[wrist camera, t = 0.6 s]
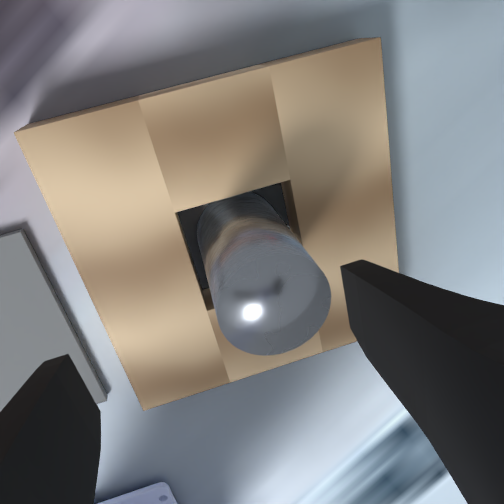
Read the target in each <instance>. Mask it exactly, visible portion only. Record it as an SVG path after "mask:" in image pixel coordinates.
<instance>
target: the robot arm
mask: <svg viewBox="0 0 504 504" xmlns="http://www.w3.org/2000/svg"><path fill="white" fill-rule="evenodd" d="M340 269H341V276H342V282H343V288H344V294H345V300H346V306H347V312H348V318H349V324H350V329H351V330H352V332H353V334H354V336H355V338H356V339H357V341H358V343H359V345H360V346H361V348H362V350H363V352H364V353H365V355H366V357H367V358H368V360H369V361H370V362H371V364H372V365H373V366H374V368H375V369H376V370H377V372H378V373H379V374H380V376H381V377H382V378H383V380H384V381H385V382H386V383H387V385H388V386H389V387H390V389H391V390H392V391H393V393H394V394H395V395H396V396H397V398H398V399H399V400H400V402H401V403H402V404H403V406H404V407H405V408H406V409H407V411H408V412H409V413H410V415H411V416H412V417H413V419H414V420H415V421H416V422H417V424H418V425H419V427H420V428H421V429H422V431H423V432H424V434H425V435H426V437H427V438H428V439H429V441H430V443H431V444H432V446H433V447H434V449H435V451H436V452H437V454H438V455H439V457H440V459H441V460H442V462H443V463H444V465H445V467H446V468H447V470H448V472H449V473H450V475H451V476H452V478H453V480H454V481H455V483H456V485H457V486H458V488H459V490H460V492H461V493H462V495H463V497H464V498H465V500H466V502H467V503H468V504H504V305H500V304H496V303H491V302H487V301H483V300H479V299H475V298H471V297H468V296H464V295H461V294H458V293H455V292H451V291H448V290H445V289H442V288H439V287H436V286H433V285H430V284H427V283H424V282H421V281H419V280H416V279H413V278H411V277H408V276H405V275H403V274H400V273H398V272H395V271H393V270H390V269H387V268H385V267H382V266H380V265H377V264H374V263H372V262H369V261H366V260H363V259H361V260H357V261H354V262H351V263H348V264H345V265H342V266H340ZM100 451H101V414H100V410H99V408H98V406H97V405H96V403H95V401H94V399H93V397H92V395H91V394H90V392H89V390H88V388H87V386H86V385H85V383H84V381H83V379H82V377H81V375H80V374H79V372H78V370H77V368H76V366H75V365H74V363H73V361H72V359H71V357H70V356H69V354H65V355H62V356H59V357H56V358H53V359H50V360H47V361H44V362H43V363H42V364H41V365H40V366H39V367H38V368H37V369H36V370H35V371H34V373H33V374H32V375H31V376H30V377H29V378H28V380H27V381H26V382H25V383H24V384H23V385H22V387H21V388H20V389H19V390H18V391H17V393H16V394H15V395H14V396H13V397H12V399H11V400H10V401H9V402H8V403H7V405H6V406H5V407H4V408H3V409H2V411H1V412H0V504H93V503H94V496H95V489H96V482H97V474H98V467H99V459H100ZM97 504H177V502H176V500H175V498H174V496H173V494H172V492H171V490H170V487H169V485H168V484H167V483H164V482H159V483H156V484H153V485H150V486H147V487H144V488H141V489H138V490H135V491H132V492H129V493H127V494H124V495H121V496H118V497H115V498H112V499H109V500H106V501H103V502H100V503H97Z"/></svg>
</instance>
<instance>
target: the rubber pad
mask: <svg viewBox="0 0 504 504" xmlns="http://www.w3.org/2000/svg"><path fill="white" fill-rule="evenodd" d="M65 354H69V356H70V357H71V359H72V361H73V363H74V365H75V366H76V368H77V370H78V372H79V374H80V375H81V377H82V379H83V381H84V383H85V385H86V386H87V388H88V390H89V392H90V394H91V395H92V397H93V399H94V401H95V403H96V404H98V403H102V402H105V401H107V394H106V392H105V390H104V388H103V386H102V384H101V382H100V380H99V378H98V376H97V374H96V372H95V370H94V368H93V366H92V364H91V362H90V360H89V358H88V356H87V354H86V352H85V350H84V348H83V346H82V344H81V342H80V340H79V338H78V336H77V335H76V333H75V331H74V329H73V327H72V325H71V323H70V321H69V319H68V317H67V315H66V313H65V311H64V309H63V307H62V305H61V303H60V301H59V299H58V297H57V295H56V293H55V291H54V289H53V287H52V285H51V283H50V281H49V279H48V277H47V275H46V274H45V272H44V270H43V268H42V266H41V264H40V262H39V260H38V258H37V256H36V254H35V252H34V250H33V248H32V246H31V244H30V242H29V240H28V238H27V236H26V234H25V232H24V230H23V229H20V230H17V231H13V232H9V233H6V234H2V235H0V412H1V411H2V409H3V408H4V407H5V406H6V405H7V403H8V402H9V401H10V400H11V399H12V397H13V396H14V395H15V394H16V393H17V391H18V390H19V389H20V388H21V387H22V385H23V384H24V383H25V382H26V381H27V380H28V378H29V377H30V376H31V375H32V374H33V373H34V371H35V370H36V369H37V368H38V367H39V366H40V365H41V364H42V363H43V362H44V361H47V360H50V359H53V358H56V357H59V356H62V355H65Z"/></svg>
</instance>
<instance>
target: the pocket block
mask: <svg viewBox="0 0 504 504" xmlns="http://www.w3.org/2000/svg"><path fill="white" fill-rule="evenodd" d="M14 134H15V137H16V139H17V141H18V143H19V145H20V147H21V149H22V152H23V154H24V156H25V158H26V160H27V162H28V164H29V167H30V169H31V171H32V173H33V175H34V177H35V179H36V182H37V184H38V186H39V188H40V190H41V192H42V194H43V197H44V199H45V201H46V203H47V205H48V207H49V209H50V212H51V214H52V216H53V218H54V220H55V222H56V224H57V227H58V229H59V231H60V233H61V235H62V237H63V239H64V242H65V244H66V246H67V248H68V250H69V252H70V254H71V257H72V259H73V261H74V263H75V265H76V267H77V269H78V272H79V274H80V276H81V278H82V280H83V282H84V284H85V287H86V289H87V291H88V293H89V295H90V297H91V299H92V302H93V304H94V306H95V308H96V310H97V312H98V314H99V317H100V319H101V321H102V323H103V325H104V327H105V329H106V332H107V334H108V336H109V338H110V340H111V342H112V344H113V347H114V349H115V351H116V353H117V355H118V357H119V359H120V362H121V364H122V366H123V368H124V370H125V372H126V374H127V376H128V379H129V381H130V383H131V385H132V387H133V389H134V391H135V394H136V396H137V398H138V400H139V402H140V404H141V406H142V409H143V411H145V410H148V409H151V408H154V407H157V406H160V405H163V404H166V403H169V402H172V401H176V400H179V399H182V398H185V397H188V396H191V395H194V394H197V393H200V392H203V391H206V390H209V389H212V388H215V387H218V386H221V385H224V384H228V383H231V382H234V381H237V380H240V379H243V378H246V377H249V376H252V375H255V374H258V373H261V372H264V371H267V370H270V369H273V368H276V367H280V366H283V365H286V364H289V363H292V362H295V361H298V360H301V359H304V358H307V357H310V356H313V355H316V354H319V353H322V352H325V351H328V350H332V349H335V348H338V347H341V346H344V345H347V344H350V343H353V342H356V341H357V339H356V338H355V336H354V334H353V332H352V330H351V329H350V324H349V318H348V312H347V306H346V300H345V294H344V288H343V282H342V276H341V269H340V266H342V265H345V264H348V263H351V262H354V261H357V260H361V259H363V260H366V261H369V262H372V263H374V264H377V265H380V266H382V267H385V268H387V269H390V270H393V271H395V272H398V273H399V268H398V255H397V242H396V229H395V216H394V203H393V190H392V177H391V164H390V151H389V138H388V125H387V112H386V99H385V86H384V73H383V61H382V48H381V37H376V38H359V39H355V40H351V41H347V42H343V43H339V44H336V45H332V46H328V47H324V48H320V49H316V50H312V51H308V52H305V53H301V54H297V55H293V56H289V57H285V58H281V59H278V60H274V61H270V62H266V63H262V64H258V65H254V66H251V67H247V68H243V69H239V70H235V71H231V72H227V73H223V74H220V75H216V76H212V77H208V78H204V79H200V80H196V81H193V82H189V83H185V84H181V85H177V86H173V87H169V88H165V89H162V90H158V91H154V92H150V93H146V94H142V95H138V96H135V97H131V98H127V99H123V100H119V101H115V102H111V103H108V104H104V105H100V106H96V107H92V108H88V109H84V110H80V111H77V112H73V113H69V114H65V115H61V116H57V117H53V118H50V119H46V120H42V121H38V122H34V123H30V124H27V125H25V126H24V127H22V128H20V129H19V130H17V131H16V132H14ZM280 182H281V186H282V191H283V196H284V201H285V206H286V211H287V216H288V221H289V226H290V230H291V232H292V233H293V234H294V236H295V237H296V238H297V239H298V241H299V242H300V243H301V245H302V246H303V247H304V248H305V250H306V251H307V252H308V253H309V255H310V256H311V257H312V259H313V260H314V261H315V262H316V264H317V265H318V266H319V268H320V269H321V270H322V271H323V273H324V274H325V276H326V278H327V280H328V282H329V285H330V289H331V305H330V310H329V313H328V316H327V318H326V320H325V322H324V323H323V325H322V326H321V328H320V329H319V330H318V332H317V333H316V334H315V335H314V336H313V337H312V338H311V339H309V340H308V341H307V342H306V343H304V344H303V345H301V346H299V347H297V348H295V349H293V350H291V351H288V352H286V353H282V354H277V355H269V356H262V355H254V354H250V353H247V352H244V351H242V350H240V349H238V348H236V347H235V346H233V345H232V344H231V343H230V342H229V341H228V340H227V339H226V338H225V336H224V335H223V333H222V331H221V329H220V327H219V324H218V320H217V316H216V312H215V308H214V304H213V300H212V296H211V292H210V288H207V289H204V290H202V288H201V285H200V281H199V278H198V275H197V272H196V269H195V266H194V263H193V260H192V257H191V254H190V251H189V247H188V244H187V241H186V238H185V235H184V232H183V229H182V226H181V223H180V220H179V217H178V213H177V212H179V211H183V210H186V209H190V208H193V207H197V206H200V205H204V204H207V203H211V202H214V201H217V200H221V199H224V198H228V197H231V196H235V195H238V194H242V193H245V192H249V191H252V190H256V189H259V188H263V187H266V186H270V185H273V184H277V183H280Z"/></svg>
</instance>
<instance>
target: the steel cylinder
mask: <svg viewBox="0 0 504 504" xmlns="http://www.w3.org/2000/svg"><path fill="white" fill-rule="evenodd" d="M197 240H198V244H199V248H200V252H201V256H202V260H203V264H204V268H205V272H206V276H207V280H208V284H209V288H210V292H211V296H212V300H213V304H214V308H215V312H216V316H217V320H218V324H219V327H220V329H221V331H222V333H223V335H224V336H225V338H226V339H227V340H228V341H229V342H230V343H231V344H232V345H233V346H235V347H236V348H238V349H240V350H242V351H244V352H247V353H250V354H254V355H262V356H269V355H277V354H282V353H286V352H288V351H291V350H293V349H295V348H297V347H299V346H301V345H303V344H304V343H306V342H307V341H308V340H309V339H311V338H312V337H313V336H314V335H315V334H316V333H317V332H318V330H319V329H320V328H321V326H322V325H323V323H324V322H325V320H326V318H327V316H328V313H329V310H330V305H331V289H330V285H329V282H328V280H327V278H326V276H325V274H324V273H323V271H322V270H321V269H320V268H319V266H318V265H317V264H316V262H315V261H314V260H313V259H312V257H311V256H310V255H309V253H308V252H307V251H306V250H305V248H304V247H303V246H302V245H301V243H300V242H299V241H298V239H297V238H296V237H295V236H294V234H293V233H292V232H291V230H290V229H289V228H288V227H287V225H286V224H285V223H284V221H283V220H282V219H281V218H280V216H279V215H278V214H277V213H276V211H275V210H274V209H273V207H272V206H271V205H270V204H269V203H268V202H267V201H266V200H265V199H264V198H262V197H261V196H259V195H256V194H254V193H251V192H245V193H242V194H238V195H235V196H231V197H228V198H224V199H221V200H217V201H214V202H211V203H210V204H209V205H208V206H207V207H206V208H205V210H204V211H203V213H202V214H201V216H200V219H199V221H198V225H197Z"/></svg>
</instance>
